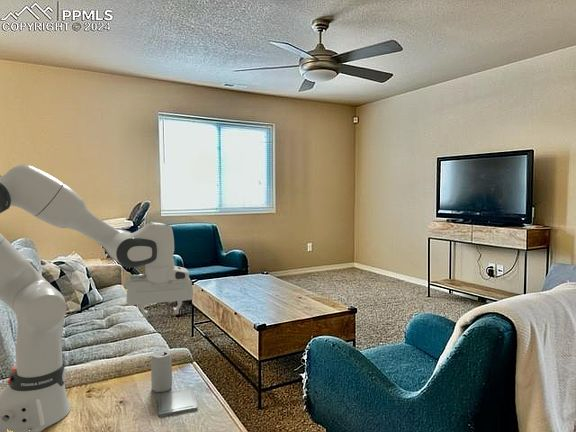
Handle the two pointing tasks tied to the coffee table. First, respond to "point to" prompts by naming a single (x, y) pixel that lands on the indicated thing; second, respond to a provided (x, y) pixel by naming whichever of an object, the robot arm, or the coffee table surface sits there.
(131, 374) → the coffee table surface
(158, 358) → the beverage can
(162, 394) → the coaster
